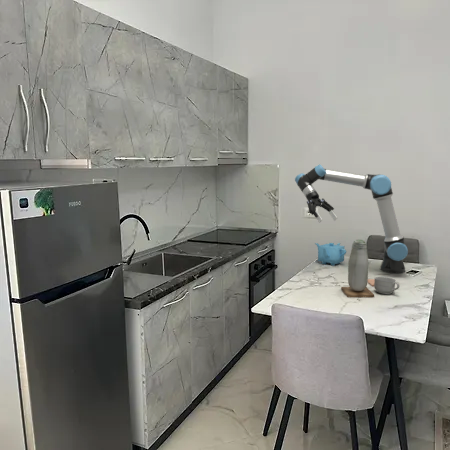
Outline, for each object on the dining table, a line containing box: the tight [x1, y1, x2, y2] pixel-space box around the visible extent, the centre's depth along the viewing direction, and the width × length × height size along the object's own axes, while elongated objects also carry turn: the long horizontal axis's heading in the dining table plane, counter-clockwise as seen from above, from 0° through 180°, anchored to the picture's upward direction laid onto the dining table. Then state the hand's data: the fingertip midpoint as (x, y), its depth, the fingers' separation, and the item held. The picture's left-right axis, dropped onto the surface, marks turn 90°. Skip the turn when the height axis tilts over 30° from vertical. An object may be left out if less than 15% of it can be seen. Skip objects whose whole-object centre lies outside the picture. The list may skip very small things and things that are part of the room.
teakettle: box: [314, 242, 347, 267], centre depth 292 cm, size 19×19×15 cm
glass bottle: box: [347, 239, 370, 291], centre depth 222 cm, size 10×10×28 cm
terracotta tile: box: [367, 278, 375, 288], centre depth 242 cm, size 12×12×1 cm
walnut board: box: [340, 286, 375, 299], centre depth 224 cm, size 14×14×2 cm
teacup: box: [374, 276, 401, 295], centre depth 224 cm, size 14×11×8 cm
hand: (328, 220), depth 252 cm, fingers open, 13 cm apart
